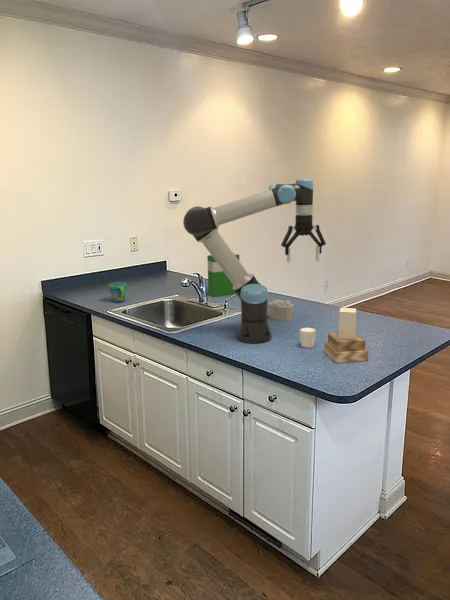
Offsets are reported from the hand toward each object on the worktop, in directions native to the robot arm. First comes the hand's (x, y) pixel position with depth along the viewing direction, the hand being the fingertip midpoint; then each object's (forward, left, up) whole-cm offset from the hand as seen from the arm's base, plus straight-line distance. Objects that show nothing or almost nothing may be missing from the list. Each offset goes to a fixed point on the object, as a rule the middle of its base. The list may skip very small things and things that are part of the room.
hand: (303, 261), depth 227 cm
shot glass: (-5, -24, -32) cm, 40 cm away
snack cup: (-89, +72, -32) cm, 119 cm away
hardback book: (-26, +74, -32) cm, 85 cm away
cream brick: (+6, -39, -24) cm, 46 cm away
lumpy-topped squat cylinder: (-5, +18, -32) cm, 37 cm away
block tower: (+6, -39, -32) cm, 51 cm away
